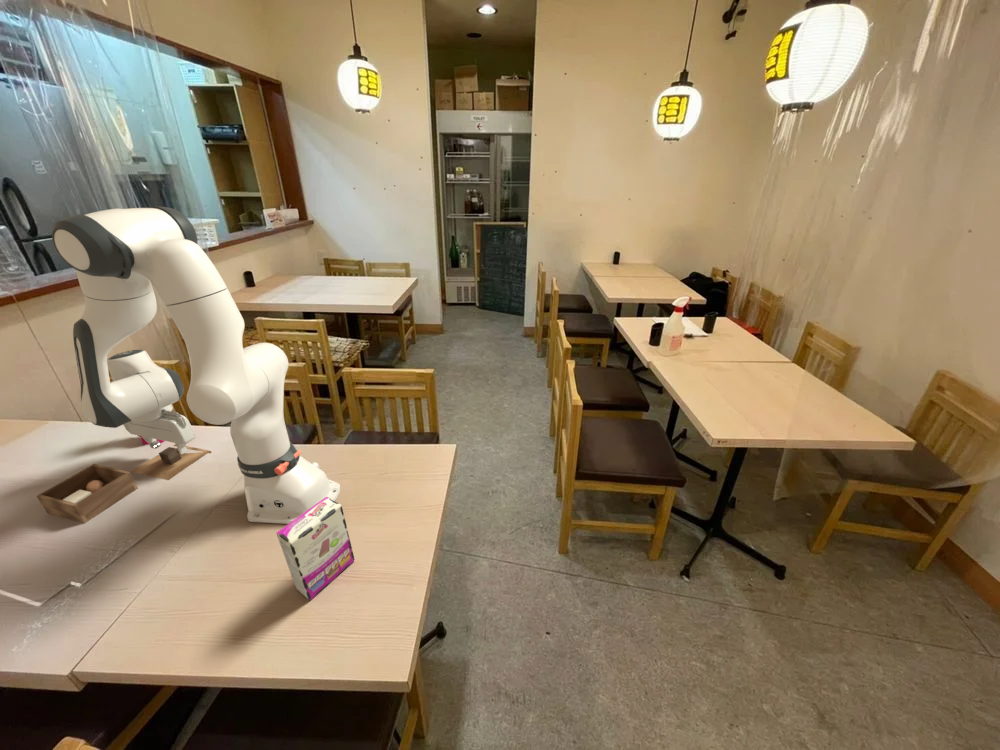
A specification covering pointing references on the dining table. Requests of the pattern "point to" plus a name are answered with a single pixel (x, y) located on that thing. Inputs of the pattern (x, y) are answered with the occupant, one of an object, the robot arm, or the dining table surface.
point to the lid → (170, 463)
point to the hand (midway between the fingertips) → (169, 449)
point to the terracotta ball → (94, 486)
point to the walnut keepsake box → (97, 502)
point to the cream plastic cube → (77, 496)
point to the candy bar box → (316, 547)
